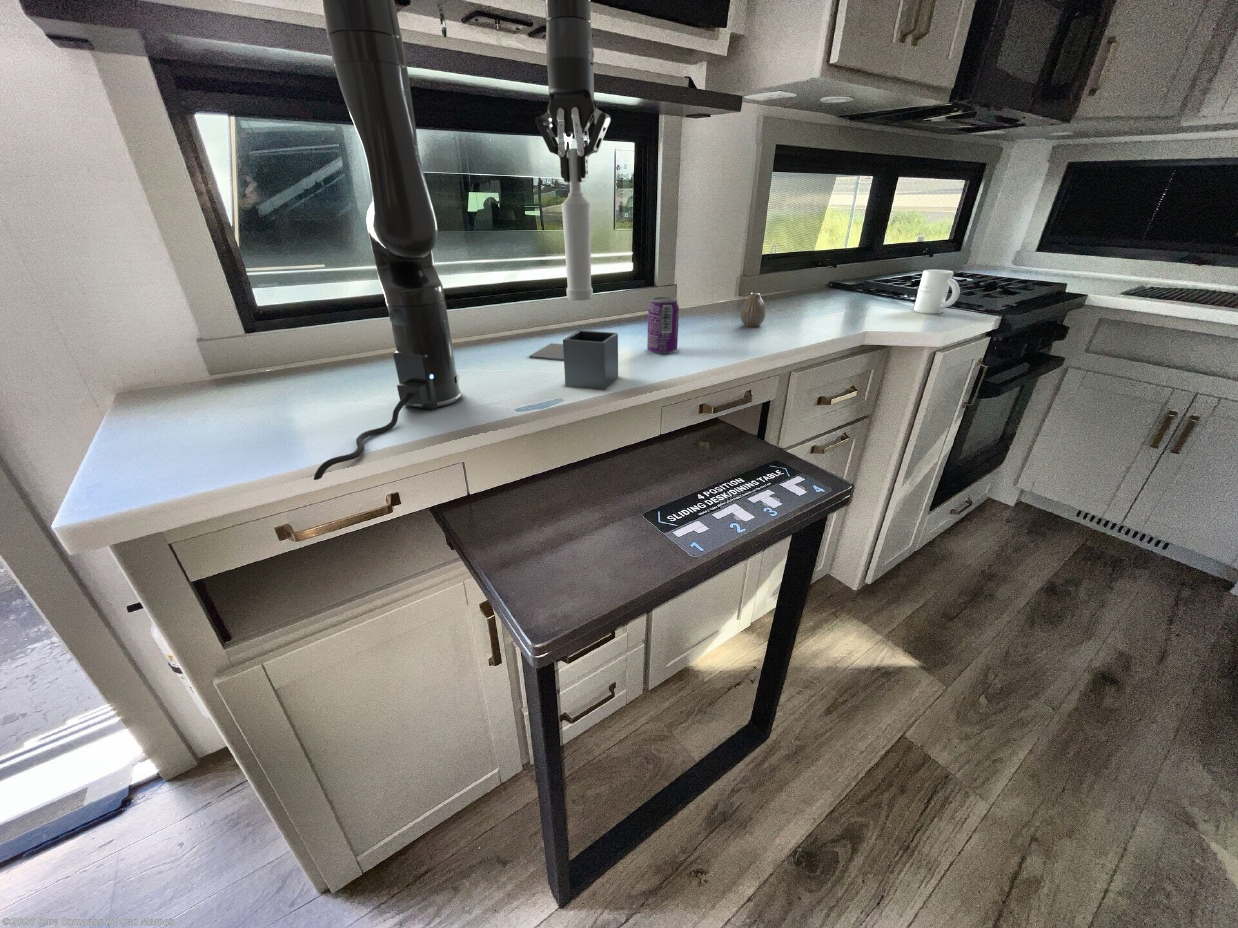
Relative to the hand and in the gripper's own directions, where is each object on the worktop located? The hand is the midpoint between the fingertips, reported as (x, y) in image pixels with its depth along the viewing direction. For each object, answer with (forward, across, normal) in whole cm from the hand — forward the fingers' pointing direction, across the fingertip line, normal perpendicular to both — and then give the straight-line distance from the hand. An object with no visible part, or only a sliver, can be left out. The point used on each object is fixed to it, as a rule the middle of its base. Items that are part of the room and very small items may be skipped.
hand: (575, 181), depth 90 cm
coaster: (+35, -10, +13) cm, 39 cm away
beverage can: (+35, +12, +21) cm, 43 cm away
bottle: (+20, 0, 0) cm, 20 cm away
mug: (+35, +82, +91) cm, 127 cm away
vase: (+35, +30, +55) cm, 72 cm away
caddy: (+35, +4, -5) cm, 36 cm away
